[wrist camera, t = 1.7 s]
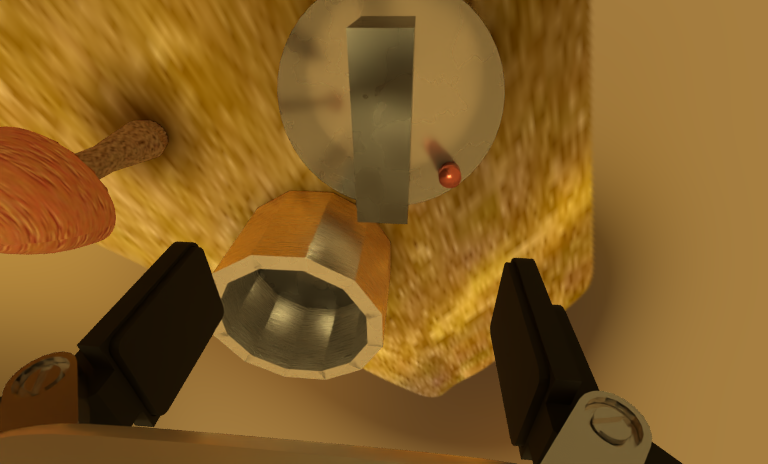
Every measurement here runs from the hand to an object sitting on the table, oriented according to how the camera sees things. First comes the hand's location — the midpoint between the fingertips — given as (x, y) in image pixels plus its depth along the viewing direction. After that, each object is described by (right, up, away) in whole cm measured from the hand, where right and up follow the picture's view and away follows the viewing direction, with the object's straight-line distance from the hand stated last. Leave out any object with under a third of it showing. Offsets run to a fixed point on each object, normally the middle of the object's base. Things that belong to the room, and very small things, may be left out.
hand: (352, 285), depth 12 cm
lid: (+2, +12, +16) cm, 20 cm away
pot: (-5, 0, +25) cm, 25 cm away
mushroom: (-18, +10, +19) cm, 28 cm away
